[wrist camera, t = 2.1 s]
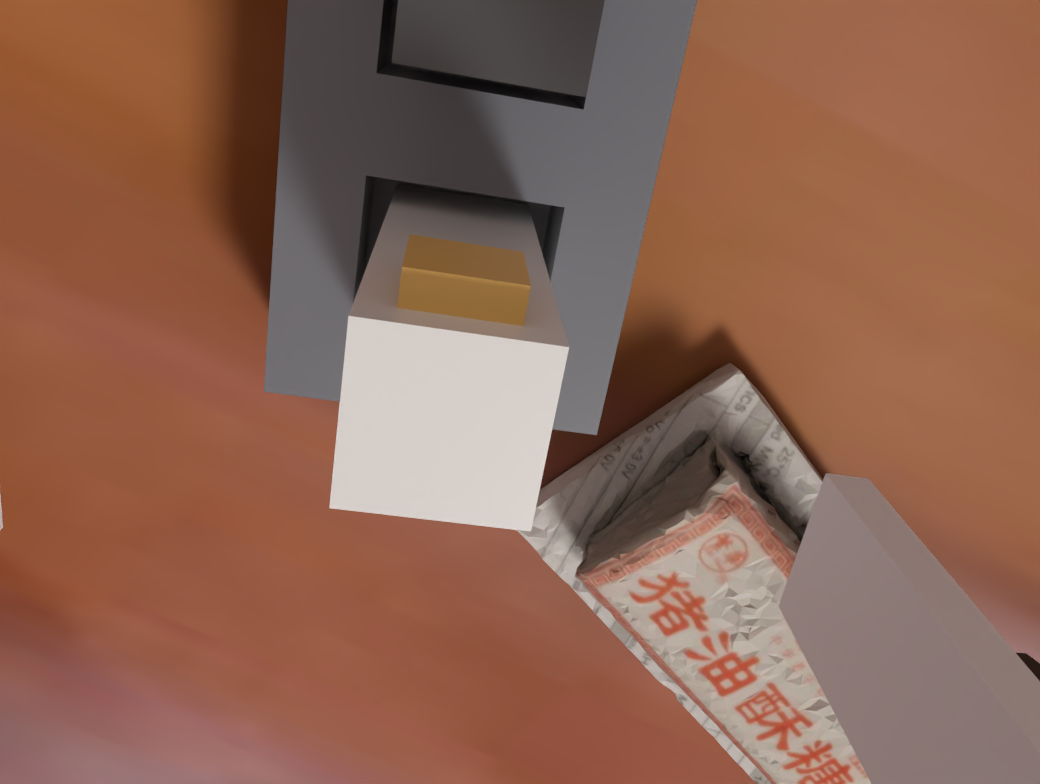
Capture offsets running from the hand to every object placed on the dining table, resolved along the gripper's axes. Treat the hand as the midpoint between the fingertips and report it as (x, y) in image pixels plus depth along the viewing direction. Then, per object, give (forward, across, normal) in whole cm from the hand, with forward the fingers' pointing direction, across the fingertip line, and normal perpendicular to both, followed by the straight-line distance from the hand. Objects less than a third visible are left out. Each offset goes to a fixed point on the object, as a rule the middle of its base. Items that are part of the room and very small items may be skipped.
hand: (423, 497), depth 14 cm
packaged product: (+16, -14, +12) cm, 24 cm away
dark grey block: (+15, 0, -8) cm, 17 cm away
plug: (+15, 0, 0) cm, 15 cm away
